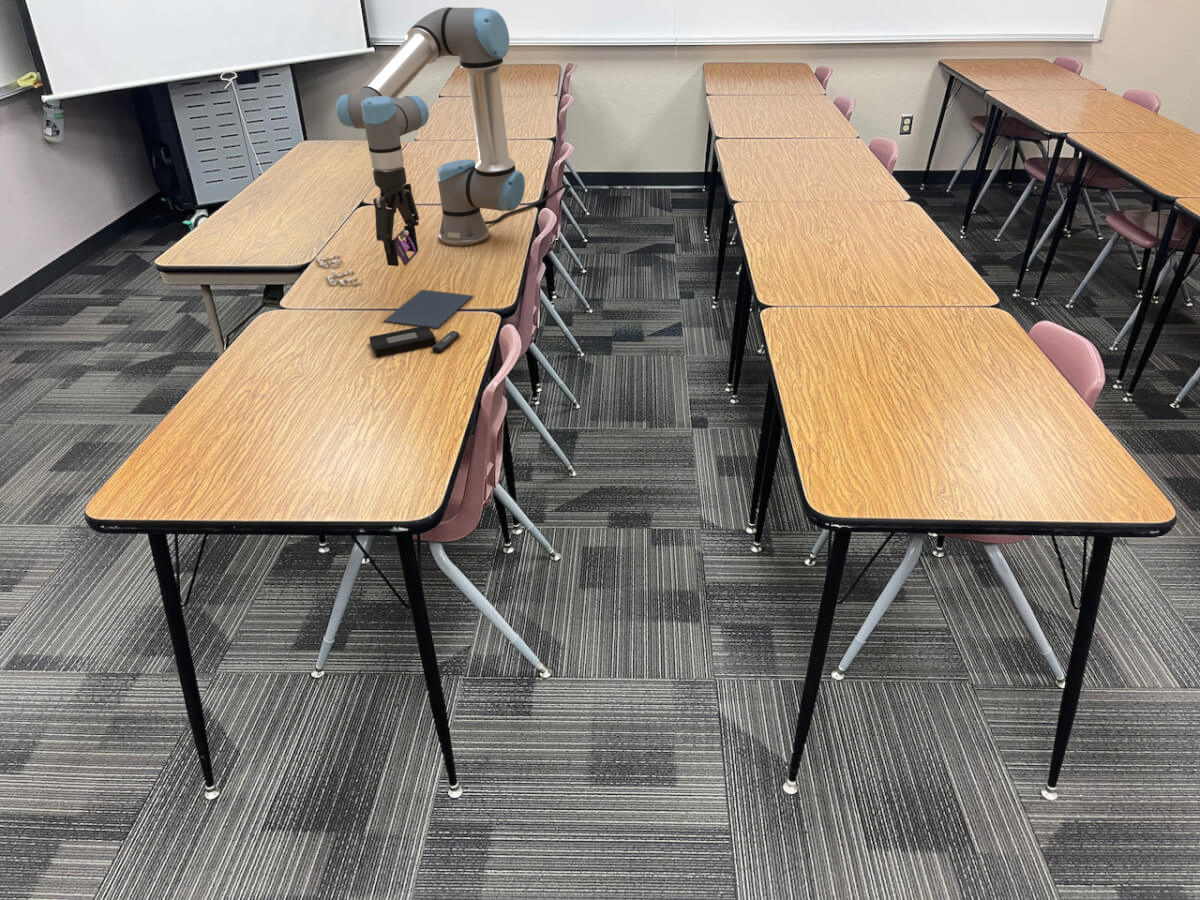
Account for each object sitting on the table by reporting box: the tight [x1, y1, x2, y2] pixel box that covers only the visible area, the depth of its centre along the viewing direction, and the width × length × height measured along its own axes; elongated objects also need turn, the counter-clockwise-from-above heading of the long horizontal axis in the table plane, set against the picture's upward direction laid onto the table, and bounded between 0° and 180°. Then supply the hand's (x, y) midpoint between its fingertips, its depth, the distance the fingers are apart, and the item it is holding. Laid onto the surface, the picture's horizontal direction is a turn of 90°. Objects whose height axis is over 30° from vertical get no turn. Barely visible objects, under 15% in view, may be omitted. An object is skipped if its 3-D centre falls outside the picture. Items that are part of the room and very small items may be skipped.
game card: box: [392, 228, 418, 267], centre depth 205 cm, size 7×5×9 cm
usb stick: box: [431, 330, 460, 353], centre depth 195 cm, size 10×3×2 cm, turn 158°
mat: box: [384, 289, 473, 330], centre depth 212 cm, size 20×15×1 cm
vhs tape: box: [368, 325, 437, 358], centre depth 195 cm, size 8×14×2 cm, turn 114°
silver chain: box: [315, 252, 358, 287], centre depth 234 cm, size 7×25×2 cm, turn 25°
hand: (403, 257), depth 206 cm, fingers closed on game card, 9 cm apart
